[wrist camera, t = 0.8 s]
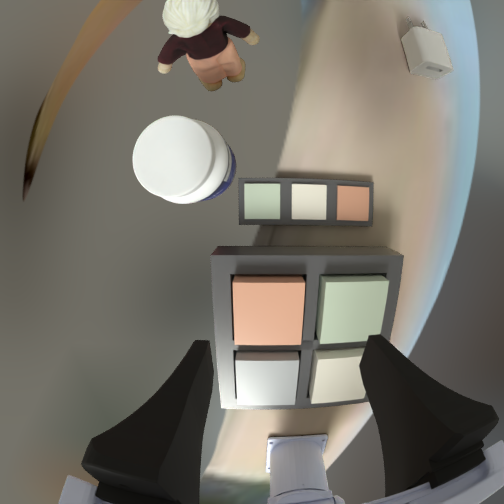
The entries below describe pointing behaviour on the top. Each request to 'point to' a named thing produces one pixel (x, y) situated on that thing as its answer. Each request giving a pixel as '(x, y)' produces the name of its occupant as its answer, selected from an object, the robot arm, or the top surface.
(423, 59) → the usb wall charger
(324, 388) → the ivory key
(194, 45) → the grandmother figurine
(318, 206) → the strip
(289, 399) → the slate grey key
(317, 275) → the keyguard pad
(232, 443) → the top surface
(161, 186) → the pill bottle
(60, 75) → the top surface
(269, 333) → the terracotta key
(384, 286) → the sage key
